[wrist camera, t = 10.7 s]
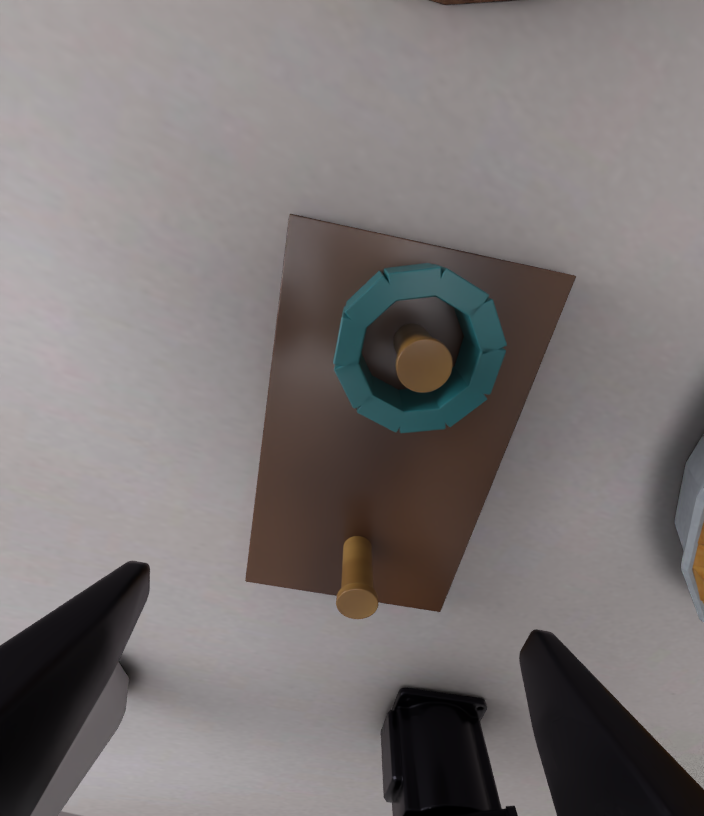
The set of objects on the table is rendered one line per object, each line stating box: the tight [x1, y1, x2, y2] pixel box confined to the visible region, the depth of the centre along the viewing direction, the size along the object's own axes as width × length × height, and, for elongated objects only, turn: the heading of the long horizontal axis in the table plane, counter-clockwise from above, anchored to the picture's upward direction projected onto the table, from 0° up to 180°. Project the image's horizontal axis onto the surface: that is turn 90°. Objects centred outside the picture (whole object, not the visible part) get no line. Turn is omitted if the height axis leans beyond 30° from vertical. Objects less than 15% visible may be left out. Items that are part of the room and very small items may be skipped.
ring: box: [333, 263, 507, 433], centre depth 16 cm, size 6×7×3 cm
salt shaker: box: [31, 662, 129, 816], centre depth 22 cm, size 6×6×13 cm
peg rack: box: [245, 214, 576, 619], centre depth 18 cm, size 12×20×5 cm, turn 169°
